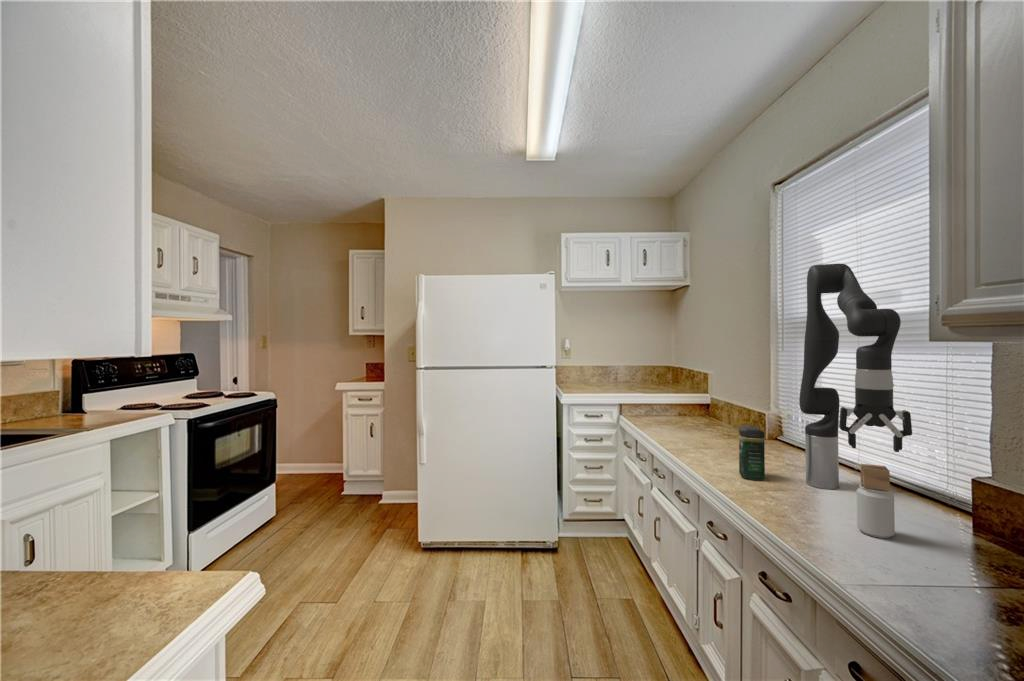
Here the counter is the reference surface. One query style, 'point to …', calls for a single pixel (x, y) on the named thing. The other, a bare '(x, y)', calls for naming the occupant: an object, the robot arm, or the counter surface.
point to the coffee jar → (751, 452)
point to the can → (875, 512)
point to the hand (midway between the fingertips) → (874, 449)
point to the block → (875, 477)
